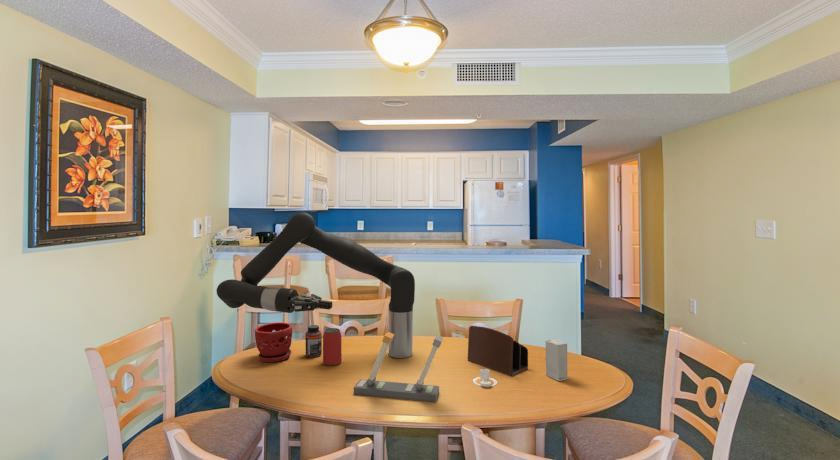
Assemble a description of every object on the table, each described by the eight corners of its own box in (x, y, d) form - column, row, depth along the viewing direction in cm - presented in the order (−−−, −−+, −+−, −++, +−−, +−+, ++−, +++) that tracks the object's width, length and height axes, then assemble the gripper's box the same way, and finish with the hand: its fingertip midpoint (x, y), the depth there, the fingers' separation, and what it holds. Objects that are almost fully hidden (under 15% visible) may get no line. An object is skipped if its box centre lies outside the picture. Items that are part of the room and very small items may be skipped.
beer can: (337, 367, 148) (337, 333, 148) (319, 365, 150) (319, 332, 149) (344, 360, 155) (344, 328, 154) (327, 359, 156) (327, 327, 156)
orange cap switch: (368, 379, 131) (387, 331, 129) (375, 382, 130) (394, 334, 129) (364, 384, 127) (384, 335, 125) (371, 387, 126) (391, 338, 125)
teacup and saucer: (490, 391, 130) (490, 378, 130) (467, 385, 134) (467, 372, 134) (501, 381, 138) (501, 369, 138) (478, 376, 142) (478, 364, 142)
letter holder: (511, 377, 141) (512, 335, 140) (467, 361, 156) (467, 323, 155) (528, 369, 148) (529, 330, 147) (484, 355, 162) (485, 319, 162)
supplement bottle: (307, 353, 163) (307, 324, 162) (322, 352, 163) (322, 323, 163) (304, 358, 157) (304, 328, 156) (320, 358, 157) (320, 328, 157)
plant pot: (274, 350, 165) (273, 320, 165) (299, 355, 160) (299, 324, 159) (247, 361, 154) (246, 328, 153) (273, 367, 148) (273, 333, 147)
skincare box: (568, 379, 139) (568, 343, 138) (557, 382, 137) (558, 345, 136) (554, 373, 144) (555, 338, 144) (544, 375, 142) (545, 339, 142)
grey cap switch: (416, 383, 128) (436, 334, 126) (422, 386, 128) (443, 337, 126) (413, 388, 124) (434, 338, 122) (420, 392, 124) (441, 341, 122)
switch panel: (360, 385, 133) (360, 378, 133) (439, 392, 128) (439, 385, 128) (353, 394, 126) (353, 386, 126) (435, 401, 122) (435, 394, 122)
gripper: (269, 292, 126) (323, 299, 124) (289, 283, 139) (339, 289, 137) (268, 317, 127) (322, 323, 124) (289, 305, 140) (338, 311, 137)
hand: (331, 305), depth 130 cm, fingers closed
